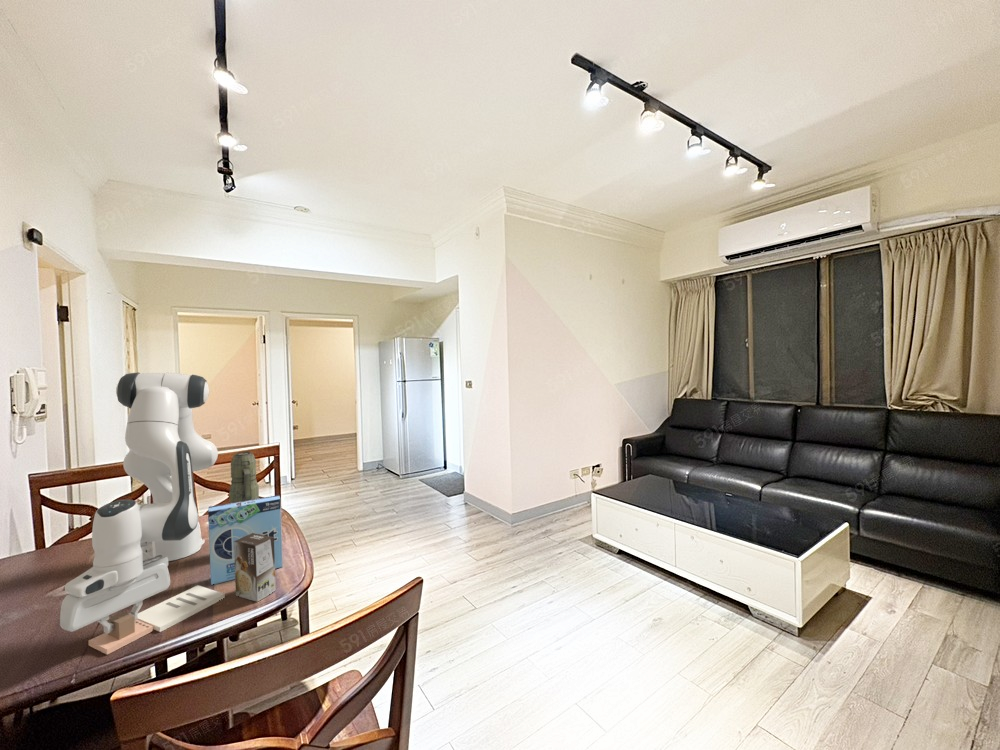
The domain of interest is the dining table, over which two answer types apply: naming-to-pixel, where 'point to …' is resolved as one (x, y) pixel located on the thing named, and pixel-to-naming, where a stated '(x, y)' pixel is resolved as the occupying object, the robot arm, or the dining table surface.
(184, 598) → the ticket
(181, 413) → the robot arm
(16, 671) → the dining table surface
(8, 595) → the dining table surface
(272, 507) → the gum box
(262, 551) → the coffee box
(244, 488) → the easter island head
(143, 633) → the peach base with block
